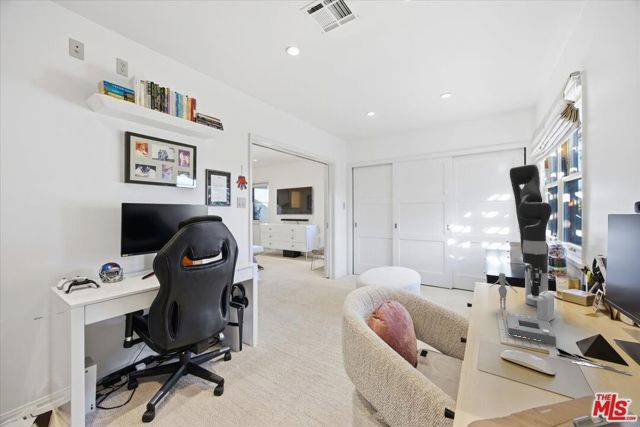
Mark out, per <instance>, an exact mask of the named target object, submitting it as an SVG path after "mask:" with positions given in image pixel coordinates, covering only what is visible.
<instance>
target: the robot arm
mask: <svg viewBox="0 0 640 427" xmlns="http://www.w3.org/2000/svg"><path fill="white" fill-rule="evenodd" d="M509 179H510V183H511V188H512V192H513V196H514V202H515V203H514V204H515V212H516V218H517V223H518V229H519V238H520V249H521V254H522V262H523V263H524V264H526V265H525V266H524V278H525V280H524V283H525V284H524V287H525V288H524V290H525V298H524V299H525V300H524V301H525V304H527V305H530V306H533V307H537V300H532V299H529V298H527V296H528V295H533V296H539V294H540V293H541V292H543V291H548V292H549V279H548V276H549V273H548V272H549V270H548V269H549V265H548V264H549V245H548V243H547V227H548V223H549V220H550V217H551V215H552V211H553V208H552V206H551V204H550V203H548V202H546V201H543V196H542V193H541V189H540V188H541V186H540V185H541V180H540V171H539V168H538V166H537V165H536V164H534V163H531V164H530V163H529V164H523V165H519V166H517V165H516V166H513V167H511V168H510V169H509ZM522 185H523V187H521V186H522ZM535 281H536V282H537V283H534V282H535Z"/></svg>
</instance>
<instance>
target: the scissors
mask: <svg viewBox="0 0 640 427" xmlns="http://www.w3.org/2000/svg"><path fill="white" fill-rule="evenodd" d="M555 349H556V350H557V353H558V356H560V357H564V358H569V359H573V360H575V361H571V363H573V364H577V365H582V366H587V367H593V368H600V369H604V370H605V369H606V370H610V371H613V372H616V373H620V374H623V375H627V376H631V377H632V376H633V374H631V373H629V372H626V371H623V370H622V369H618V368H615V367H613V366H610V365H607V364H600V363H599V362H596V361H593V360H591V359H589V358H587V357H585V356H583V355H582V356H581V355H579V354H575V353H569V352H567V351H566V350H564V349H561V348H558V347H555Z"/></svg>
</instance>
